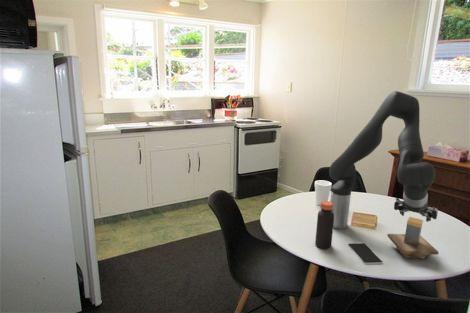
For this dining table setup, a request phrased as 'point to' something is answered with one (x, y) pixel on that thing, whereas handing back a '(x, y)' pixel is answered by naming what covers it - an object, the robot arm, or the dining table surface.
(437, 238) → the dining table surface
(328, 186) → the foam cup
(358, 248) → the smartphone
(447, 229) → the dining table surface
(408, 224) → the block
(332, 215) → the bottle
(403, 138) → the robot arm
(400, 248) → the stand
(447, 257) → the dining table surface
